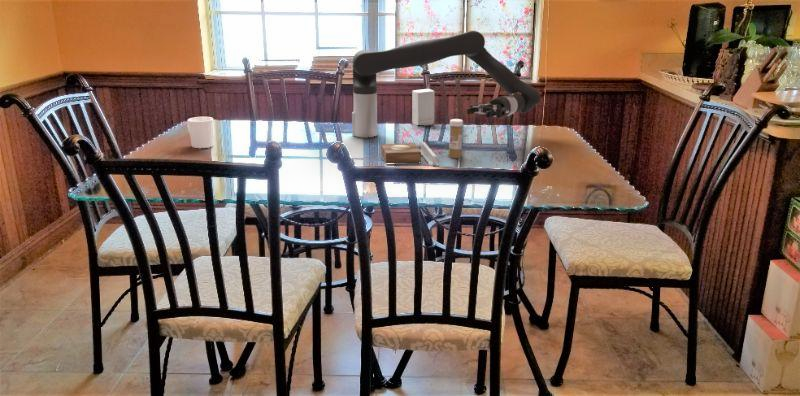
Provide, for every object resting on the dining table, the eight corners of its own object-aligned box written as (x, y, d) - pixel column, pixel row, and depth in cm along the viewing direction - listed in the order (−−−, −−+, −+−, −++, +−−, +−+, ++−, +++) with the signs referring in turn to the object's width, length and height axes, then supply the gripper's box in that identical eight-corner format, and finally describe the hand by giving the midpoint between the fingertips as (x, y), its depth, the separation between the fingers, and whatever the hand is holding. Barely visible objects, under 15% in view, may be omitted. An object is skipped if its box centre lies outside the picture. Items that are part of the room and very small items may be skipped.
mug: (220, 145, 238) (218, 118, 235) (204, 150, 230) (201, 122, 227) (197, 141, 242) (195, 115, 239) (181, 147, 235) (178, 119, 231)
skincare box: (428, 122, 278) (428, 88, 273) (434, 124, 273) (435, 90, 268) (411, 123, 275) (411, 89, 270) (417, 126, 270) (418, 91, 265)
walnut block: (381, 155, 226) (381, 143, 225) (414, 154, 228) (414, 142, 227) (386, 164, 215) (386, 152, 214) (420, 163, 217) (421, 151, 216)
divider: (418, 150, 233) (418, 141, 231) (426, 150, 233) (426, 141, 232) (430, 166, 214) (430, 156, 213) (438, 165, 214) (438, 155, 213)
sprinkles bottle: (446, 157, 225) (447, 119, 220) (453, 154, 228) (455, 117, 224) (456, 159, 222) (458, 121, 218) (464, 156, 225) (465, 119, 221)
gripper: (488, 94, 242) (461, 100, 232) (519, 99, 233) (493, 105, 222) (487, 113, 245) (461, 120, 234) (518, 119, 236) (492, 126, 225)
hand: (477, 113), depth 228 cm, fingers open, 8 cm apart
